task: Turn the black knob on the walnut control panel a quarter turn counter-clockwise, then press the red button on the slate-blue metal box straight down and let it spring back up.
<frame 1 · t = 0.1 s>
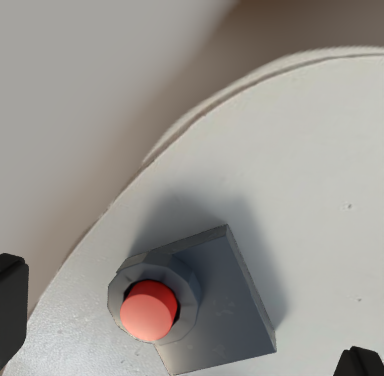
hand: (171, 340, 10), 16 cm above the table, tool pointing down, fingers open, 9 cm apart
button box: (199, 295, 27), on the table
plunger: (149, 309, 23), point 4 cm above the table, slide at 0.1 cm
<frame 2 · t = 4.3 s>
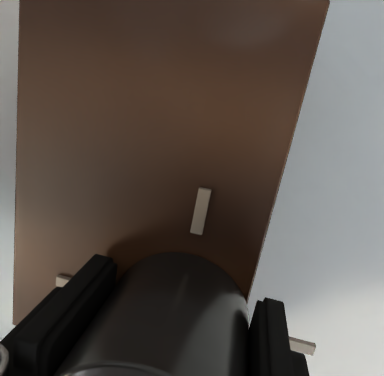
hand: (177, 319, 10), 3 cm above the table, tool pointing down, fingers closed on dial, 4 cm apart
dial: (160, 371, 9), point 5 cm above the table, hinge at 0.0°, touching gripper
console: (161, 175, 13), on the table
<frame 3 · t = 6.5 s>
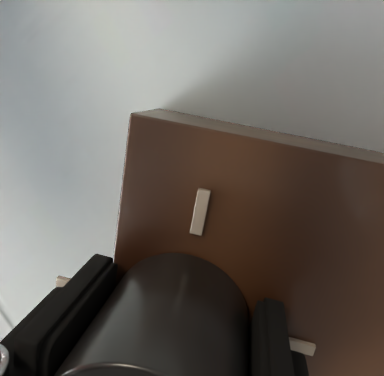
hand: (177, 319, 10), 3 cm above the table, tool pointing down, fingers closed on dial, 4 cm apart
dial: (160, 372, 9), point 5 cm above the table, hinge at 90.4°, touching gripper
console: (293, 243, 13), on the table
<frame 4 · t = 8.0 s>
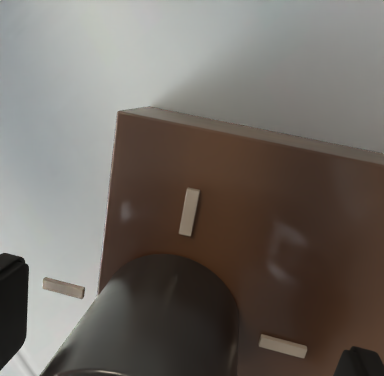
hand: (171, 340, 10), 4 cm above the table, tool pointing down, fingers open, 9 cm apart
console: (285, 244, 13), on the table
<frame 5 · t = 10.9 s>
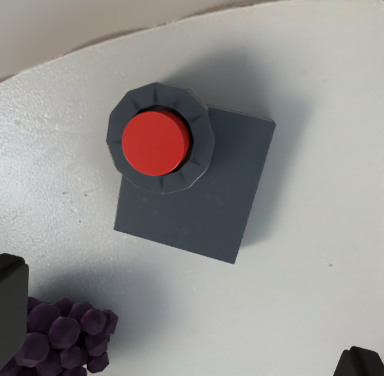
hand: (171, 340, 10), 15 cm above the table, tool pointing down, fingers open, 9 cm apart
button box: (193, 173, 24), on the table
fruit: (58, 323, 30), on the table
plunger: (156, 142, 19), point 4 cm above the table, slide at 0.1 cm
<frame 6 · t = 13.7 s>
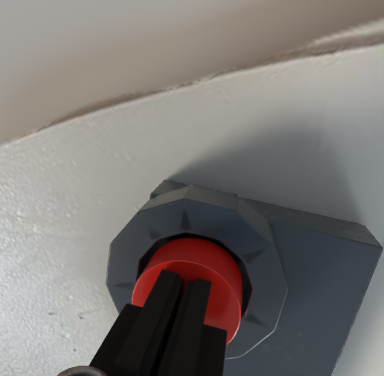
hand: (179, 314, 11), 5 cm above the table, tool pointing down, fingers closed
button box: (236, 295, 16), on the table
plunger: (189, 295, 12), point 4 cm above the table, slide at 0.1 cm, touching gripper
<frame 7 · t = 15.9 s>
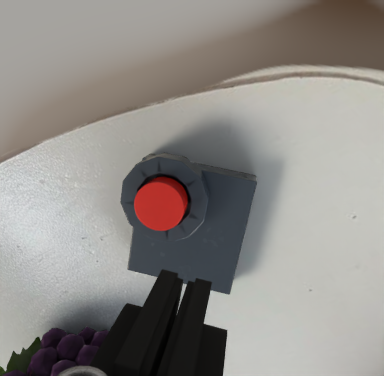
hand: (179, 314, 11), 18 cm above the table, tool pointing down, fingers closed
button box: (191, 219, 29), on the table
fruit: (80, 348, 35), on the table
plunger: (161, 203, 24), point 4 cm above the table, slide at 0.1 cm
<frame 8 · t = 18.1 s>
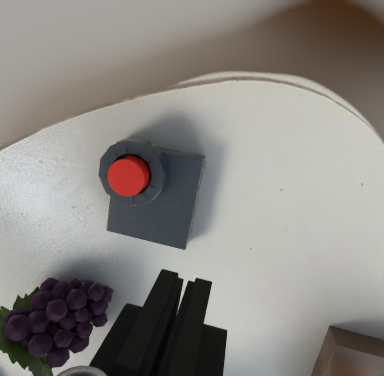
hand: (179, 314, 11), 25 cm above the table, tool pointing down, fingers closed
button box: (157, 191, 37), on the table
fruit: (71, 298, 43), on the table
plunger: (128, 175, 32), point 4 cm above the table, slide at 0.1 cm
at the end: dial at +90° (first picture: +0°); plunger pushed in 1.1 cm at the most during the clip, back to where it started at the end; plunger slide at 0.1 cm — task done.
